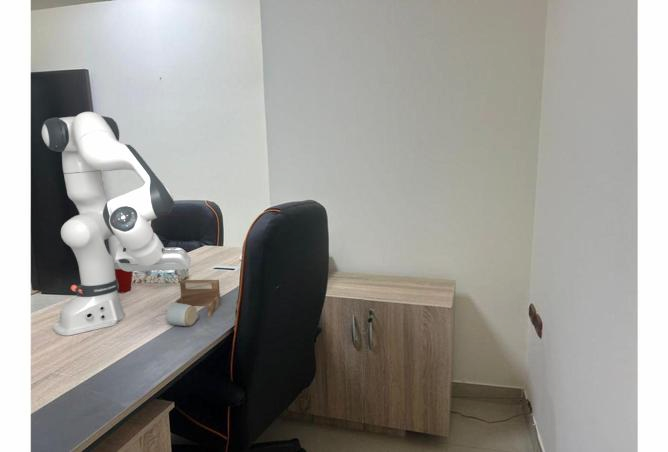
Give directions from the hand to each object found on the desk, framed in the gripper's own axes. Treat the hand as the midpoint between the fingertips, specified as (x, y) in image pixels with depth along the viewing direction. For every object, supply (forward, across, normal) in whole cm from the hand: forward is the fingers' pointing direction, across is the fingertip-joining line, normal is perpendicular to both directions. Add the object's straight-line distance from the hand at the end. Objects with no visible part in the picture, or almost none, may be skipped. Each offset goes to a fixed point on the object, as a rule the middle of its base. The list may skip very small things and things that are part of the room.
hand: (163, 273), depth 139 cm
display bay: (+33, 0, -3) cm, 33 cm away
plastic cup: (+52, +40, -21) cm, 69 cm away
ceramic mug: (+25, 0, +6) cm, 26 cm away
